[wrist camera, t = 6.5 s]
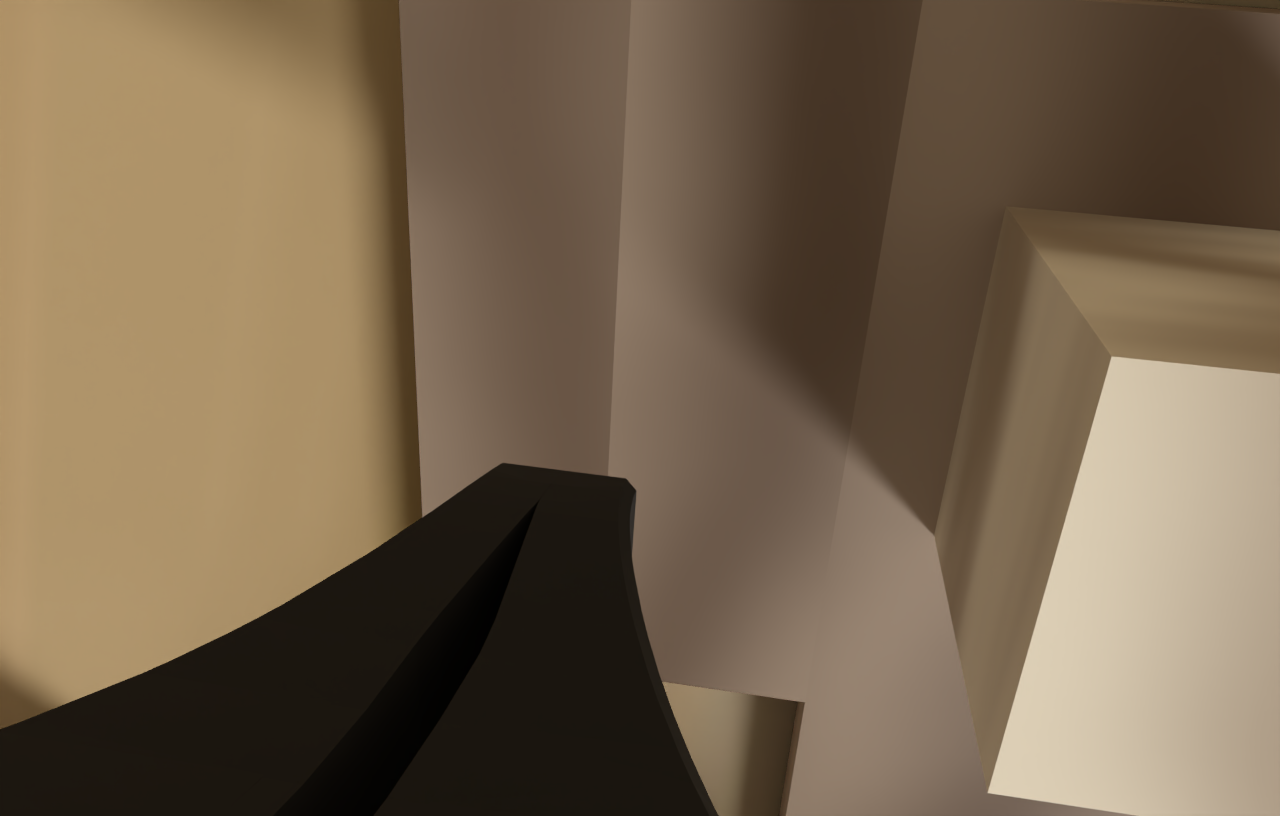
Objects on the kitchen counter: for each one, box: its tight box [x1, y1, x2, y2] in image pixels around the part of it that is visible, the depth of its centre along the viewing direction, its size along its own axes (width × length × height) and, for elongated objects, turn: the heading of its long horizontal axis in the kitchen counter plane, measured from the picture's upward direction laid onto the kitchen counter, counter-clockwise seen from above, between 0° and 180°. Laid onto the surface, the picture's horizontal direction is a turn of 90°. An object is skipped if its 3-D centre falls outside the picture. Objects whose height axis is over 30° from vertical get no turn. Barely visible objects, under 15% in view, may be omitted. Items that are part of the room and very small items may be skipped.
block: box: [934, 206, 1280, 816], centre depth 11 cm, size 5×5×5 cm
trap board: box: [399, 0, 1280, 816], centre depth 16 cm, size 18×20×3 cm
